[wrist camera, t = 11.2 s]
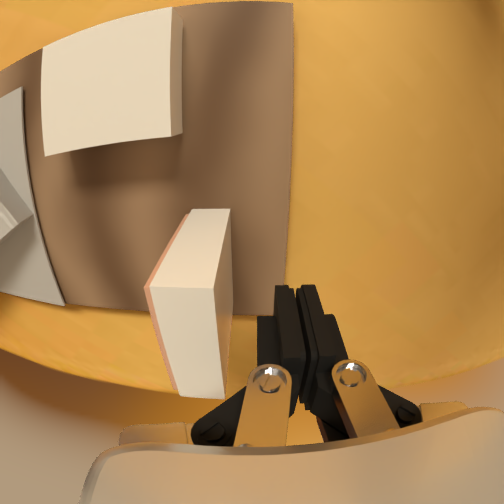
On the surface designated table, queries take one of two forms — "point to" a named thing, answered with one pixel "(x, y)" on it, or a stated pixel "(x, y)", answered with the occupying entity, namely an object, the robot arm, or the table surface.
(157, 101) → the tile
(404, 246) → the table surface
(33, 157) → the board
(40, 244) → the ramp
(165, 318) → the tile
